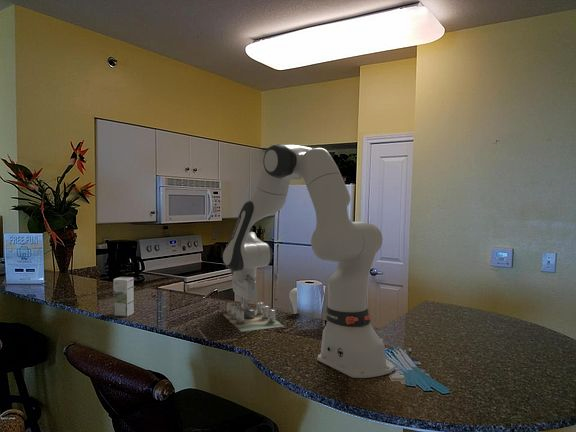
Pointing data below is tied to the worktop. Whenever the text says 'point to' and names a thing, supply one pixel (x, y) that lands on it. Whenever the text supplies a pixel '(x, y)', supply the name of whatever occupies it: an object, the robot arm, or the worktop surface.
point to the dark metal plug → (249, 313)
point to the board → (254, 323)
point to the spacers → (261, 310)
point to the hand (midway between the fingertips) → (244, 308)
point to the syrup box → (123, 296)
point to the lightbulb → (294, 299)
